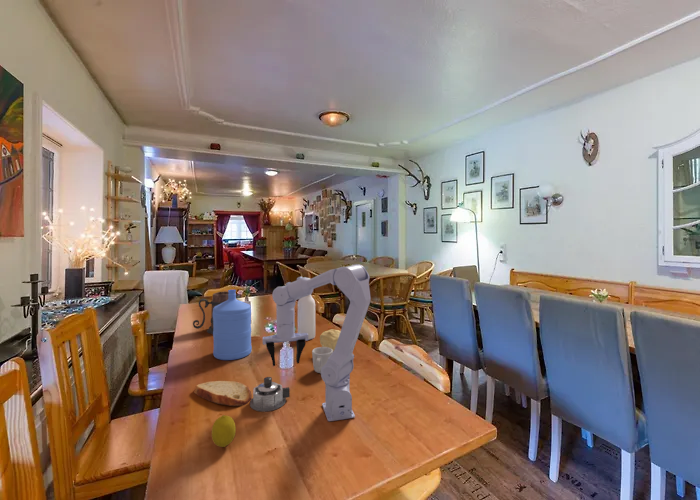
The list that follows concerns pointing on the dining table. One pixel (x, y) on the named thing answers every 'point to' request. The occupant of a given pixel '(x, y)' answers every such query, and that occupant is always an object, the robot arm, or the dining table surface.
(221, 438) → the lemon
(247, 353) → the water jug
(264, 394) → the silver rounded piece
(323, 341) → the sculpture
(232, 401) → the slice of bread
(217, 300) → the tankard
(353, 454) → the dining table surface
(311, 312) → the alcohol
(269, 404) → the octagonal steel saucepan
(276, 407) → the round metal disc
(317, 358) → the cup
